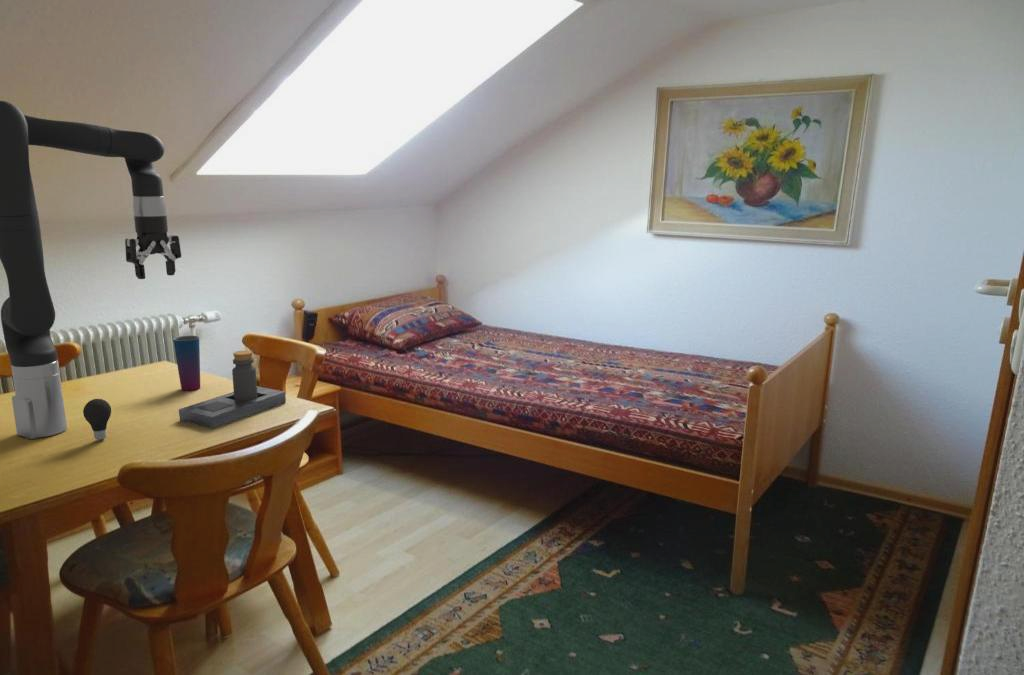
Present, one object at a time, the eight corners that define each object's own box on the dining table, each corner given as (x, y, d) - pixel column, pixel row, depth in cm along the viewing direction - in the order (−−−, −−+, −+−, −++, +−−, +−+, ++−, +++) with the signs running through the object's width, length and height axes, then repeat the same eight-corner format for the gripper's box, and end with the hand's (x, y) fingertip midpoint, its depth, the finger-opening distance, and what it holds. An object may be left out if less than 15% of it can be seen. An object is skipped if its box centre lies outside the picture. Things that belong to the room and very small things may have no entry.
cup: (172, 390, 205) (167, 339, 201) (189, 384, 211) (184, 334, 208) (192, 393, 203) (187, 341, 199) (208, 386, 209) (204, 336, 206)
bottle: (230, 408, 190) (225, 353, 187) (247, 402, 195) (243, 348, 192) (245, 411, 187) (241, 356, 184) (263, 405, 192) (259, 351, 189)
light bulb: (108, 434, 170) (103, 394, 168) (118, 439, 167) (114, 398, 164) (82, 440, 166) (77, 399, 164) (92, 446, 162) (87, 404, 160)
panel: (212, 428, 174) (211, 416, 174) (179, 420, 180) (178, 408, 179) (285, 402, 195) (285, 391, 195) (254, 395, 201) (253, 385, 200)
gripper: (134, 216, 176) (140, 281, 180) (184, 213, 188) (189, 275, 192) (114, 215, 179) (121, 279, 183) (165, 212, 192) (170, 273, 195)
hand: (156, 277), depth 187 cm, fingers open, 8 cm apart
